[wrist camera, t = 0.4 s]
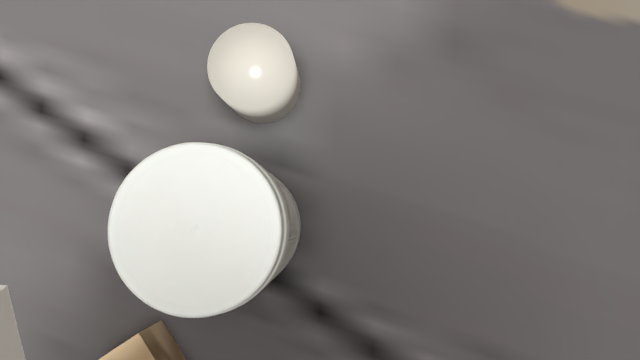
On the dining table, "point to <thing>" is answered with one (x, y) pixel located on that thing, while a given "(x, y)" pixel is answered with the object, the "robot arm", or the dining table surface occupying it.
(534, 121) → the dining table surface
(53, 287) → the dining table surface
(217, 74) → the white cube
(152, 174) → the supplement tub
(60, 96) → the dining table surface
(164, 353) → the oak block
